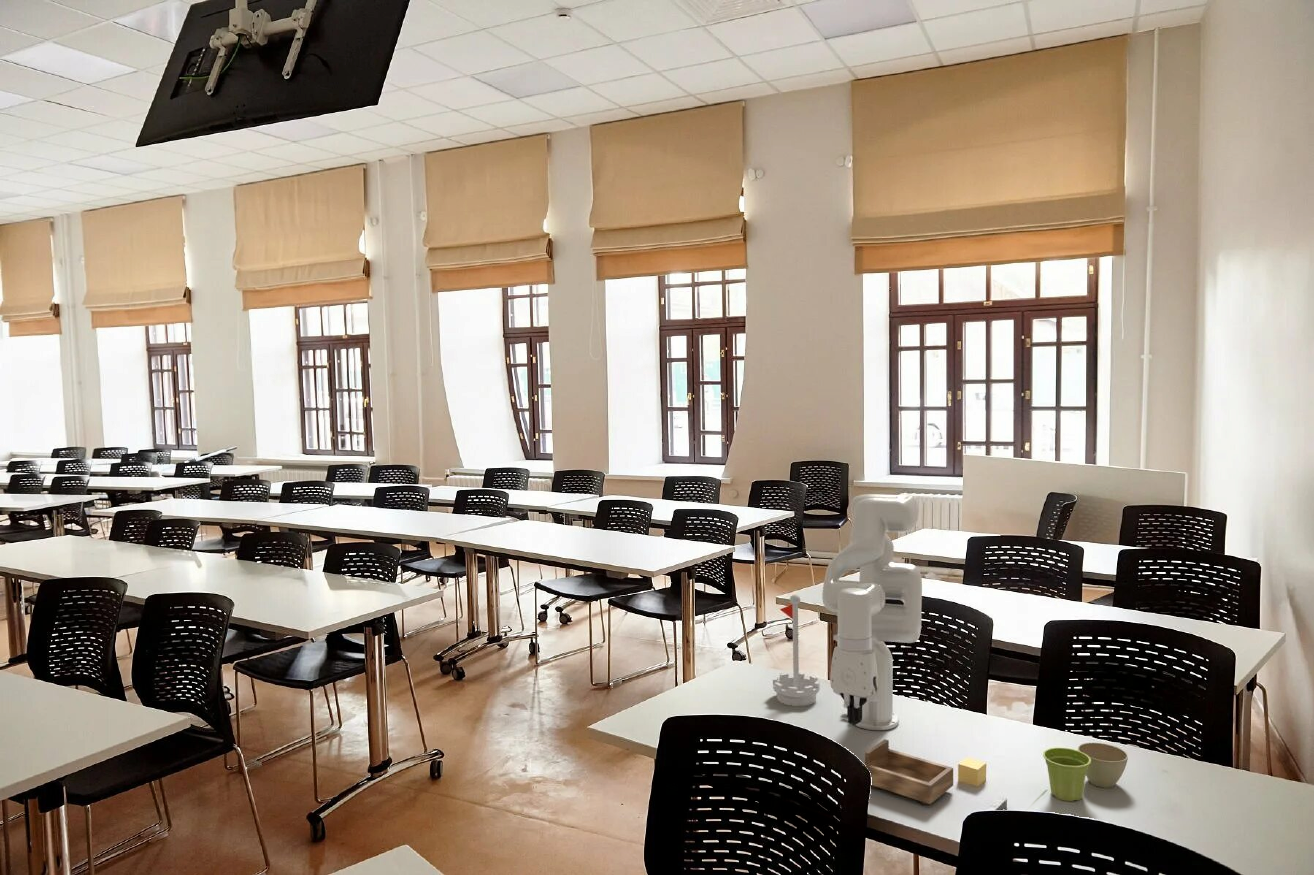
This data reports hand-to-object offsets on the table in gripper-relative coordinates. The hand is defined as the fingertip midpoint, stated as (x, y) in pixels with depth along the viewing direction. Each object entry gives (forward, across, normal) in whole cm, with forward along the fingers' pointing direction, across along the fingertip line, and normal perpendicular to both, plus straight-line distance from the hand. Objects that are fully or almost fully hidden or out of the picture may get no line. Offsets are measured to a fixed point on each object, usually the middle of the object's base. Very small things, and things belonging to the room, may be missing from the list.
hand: (854, 722), depth 209 cm
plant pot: (+13, +40, +21) cm, 47 cm away
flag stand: (+12, -37, +32) cm, 51 cm away
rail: (+13, +18, +1) cm, 22 cm away
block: (+13, +22, +14) cm, 29 cm away
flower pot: (+12, +44, +32) cm, 55 cm away
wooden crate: (+12, +13, +1) cm, 18 cm away
